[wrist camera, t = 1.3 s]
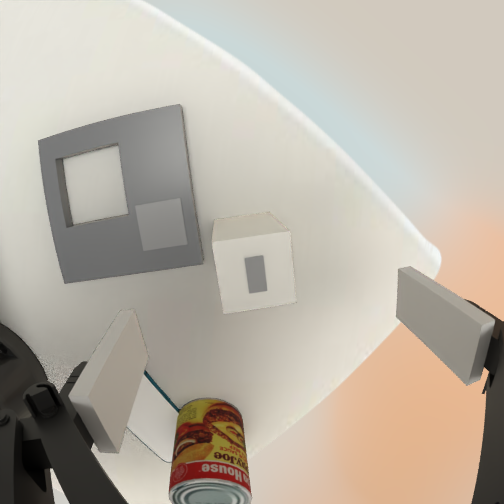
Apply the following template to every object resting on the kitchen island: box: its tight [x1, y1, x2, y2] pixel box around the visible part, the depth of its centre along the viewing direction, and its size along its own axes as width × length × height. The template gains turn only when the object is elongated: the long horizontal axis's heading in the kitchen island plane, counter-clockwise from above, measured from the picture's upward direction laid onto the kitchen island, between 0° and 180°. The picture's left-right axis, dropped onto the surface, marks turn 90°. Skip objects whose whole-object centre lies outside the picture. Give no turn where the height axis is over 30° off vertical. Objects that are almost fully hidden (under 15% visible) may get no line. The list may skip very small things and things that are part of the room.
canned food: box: [169, 398, 252, 504], centre depth 29 cm, size 8×8×12 cm
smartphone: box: [127, 370, 180, 463], centre depth 34 cm, size 8×1×16 cm
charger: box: [212, 212, 296, 314], centre depth 25 cm, size 5×5×9 cm
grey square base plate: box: [38, 104, 204, 284], centre depth 27 cm, size 14×14×2 cm
